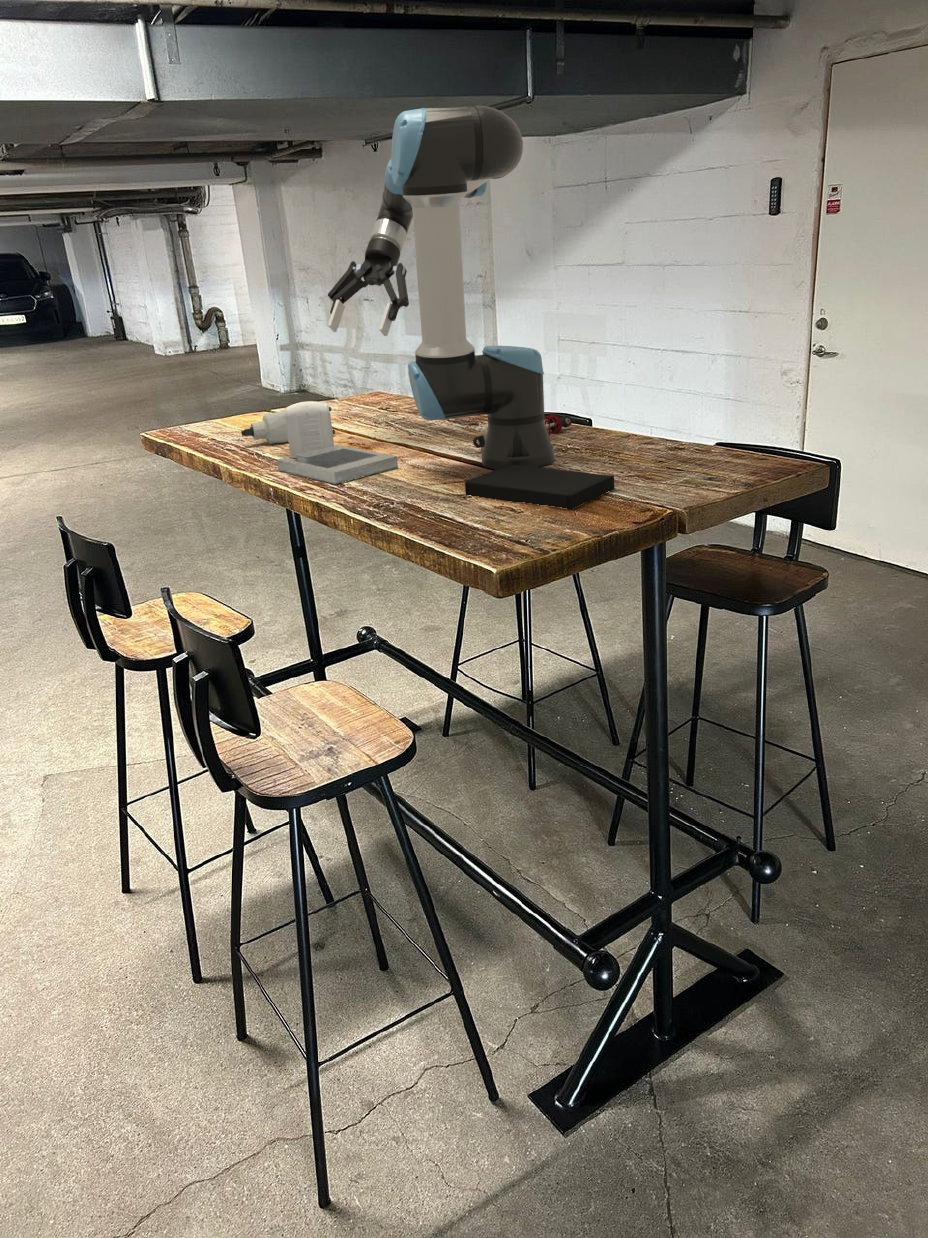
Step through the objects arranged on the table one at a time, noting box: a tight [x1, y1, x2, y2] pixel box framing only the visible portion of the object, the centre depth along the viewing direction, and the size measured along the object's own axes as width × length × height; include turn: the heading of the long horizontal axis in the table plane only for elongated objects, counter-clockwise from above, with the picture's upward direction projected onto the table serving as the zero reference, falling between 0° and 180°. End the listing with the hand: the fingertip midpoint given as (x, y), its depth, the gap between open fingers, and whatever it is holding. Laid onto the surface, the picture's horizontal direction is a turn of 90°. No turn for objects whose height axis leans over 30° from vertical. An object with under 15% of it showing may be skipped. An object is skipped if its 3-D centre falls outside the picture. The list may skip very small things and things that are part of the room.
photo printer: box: [285, 400, 335, 459], centre depth 204 cm, size 10×4×12 cm, turn 98°
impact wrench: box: [240, 404, 336, 445], centre depth 231 cm, size 8×23×25 cm
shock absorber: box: [472, 414, 573, 450], centre depth 203 cm, size 5×5×30 cm
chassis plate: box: [276, 444, 399, 485], centre depth 191 cm, size 22×16×2 cm
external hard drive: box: [464, 464, 615, 510], centre depth 162 cm, size 14×23×3 cm, turn 51°
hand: (357, 330), depth 198 cm, fingers open, 13 cm apart
